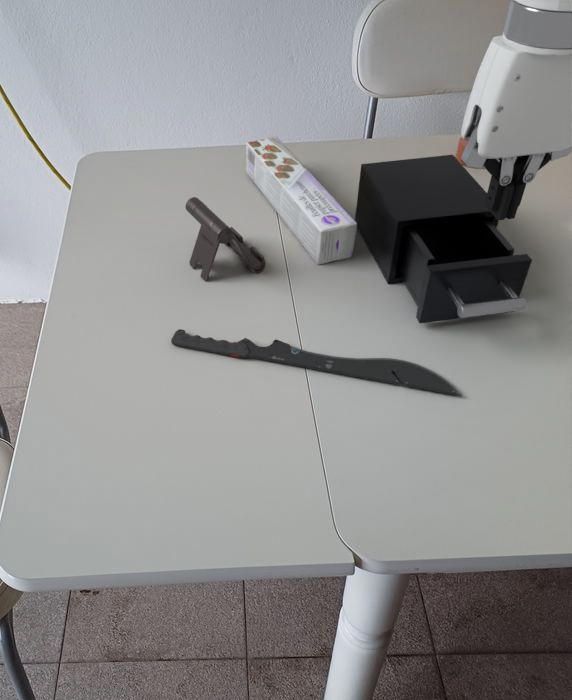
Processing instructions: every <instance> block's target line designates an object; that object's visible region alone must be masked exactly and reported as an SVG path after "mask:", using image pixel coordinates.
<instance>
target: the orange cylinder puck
mask: <svg viewBox="0 0 572 700" xmlns="http://www.w3.org/2000/svg"><path fill="white" fill-rule="evenodd" d="M467 143H468V141H465V140H464V139H463V138H462V137H460V138H459V140H458V143H457V149H456V152H455V158H456V159H457V160H458V161H459V162H460V163H461V165H462V164H463V165H462V166H464V165H465V164H464V163H463V162H462V161H461V156H462V154H463V151H464V149H465V147H466V145H467ZM464 167H467V166H466V165H465V166H464Z"/></svg>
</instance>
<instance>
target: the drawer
mask: <svg viewBox="0 0 572 700" xmlns="http://www.w3.org/2000/svg"><path fill="white" fill-rule="evenodd" d="M515 251H516V249H515V247H514V246H513V245H512V244H511V243H510V242H509V240H508V239H506V237H505V236H504V235H503V234H502V233H501V231H500V230H499V228H498V227H497V228H496V227H495V226H494V224H493V223H492V222H491V221H490V220H489V218H488V217H482V218H473V219H465V220H456V221H447V222H438V223H429V224H420V225H411V226H404V228H403V234H402V240H401V245H400V251H399V257H398V263H397V268H396V270H397V272H398V274H399V275H400V277H401V279H402V281H403V282H402V283H403V284H404V286H405V288H406V289H407V291H408V293H409V295H410V296H411V298H412V300H413V301H414V303H415V305H416V307H417V310H416V315H415V318H416V320H417V322H418V323H419V324H428V323H435V322H443V321H451V320H458V319H467V318H476V317H484V316H492V315H500V314H509V313H514V312H519V311H525V309H526V307H527V301H526V299H525V298H524V297H523V296H521V293H522V291H523V287H524V285H525V282H526V280H527V277H528V273H529V270H530V268H531V264H532V262H533V259H532V258H531V257H530V255H529V254H528V253H523V254H514V253H515Z"/></svg>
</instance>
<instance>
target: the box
mask: <svg viewBox="0 0 572 700" xmlns="http://www.w3.org/2000/svg"><path fill="white" fill-rule="evenodd" d="M245 146H246V148H245V149H246V151H245V154H246V155H245V156H246V157H245V158H246V159H245V161H246V163H245V164H246V165H245V166H246V167H245V168H246V169H245V171H246V172H245V173H247V175H248V176H249V177H250V179H251V180H252V182H253V183H255V185H256V186H257V187H258V190H260V192H261V193H262V194H263V195H264V197H265V198H266V199H267V201H268V202H269V203H270V204H271V206H272V207H273V209H274V210H275V211H276V212H277V214H278V215H279V217H280V218H281V219H282V220H283V221H284V223H285V224H286V225H287V227H288V228H289V229H290V231H291V232H292V234H294V236H295V237H296V238H297V240H298V242H300V244H301V245H302V246H303V247H304V249H305V250H306V251H307V252H308V254H309V256H310V257H311V258H312V259H313V260H314V262H315V263H316V265H324V264H327V263H328V264H329V263H330V262H336V261H342V260H345V259H350V258H351V257H353V254H354V250H355V249H354V248H355V242H356V235H357V230H358V229H357V222H356V221H355V218H353V217H352V216H351V215H350V214H349V212H347V211H346V210H345V208H344V207H343V206H342V205H341V204H340V202H338V201H337V200H336V198H335V197H333V196H332V194H331V193H330V192H329V191H328V190H327V189H326V188H325V187H324V186H323V184H321V182H319V180H318V179H317V178H316V177H315V176H314V175H313V173H311V172H310V171H309V170H308V168H307V167H305V165H304V164H303V163H302V162H301V161H300V160H299V159H298V158H297V156H295V154H293V152H292V151H291V150H290V149H289V148H288V147H287V146H286V145H285V144H284V143H283V142H282V141H281V139H280V138H279V137H278V136H272V137H266V138H263V139H261V138H260V139H256V140H252V141H251V140H250V141H247V142H246V145H245Z"/></svg>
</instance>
